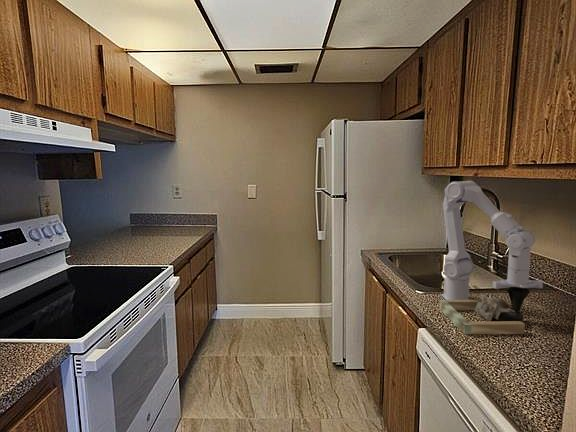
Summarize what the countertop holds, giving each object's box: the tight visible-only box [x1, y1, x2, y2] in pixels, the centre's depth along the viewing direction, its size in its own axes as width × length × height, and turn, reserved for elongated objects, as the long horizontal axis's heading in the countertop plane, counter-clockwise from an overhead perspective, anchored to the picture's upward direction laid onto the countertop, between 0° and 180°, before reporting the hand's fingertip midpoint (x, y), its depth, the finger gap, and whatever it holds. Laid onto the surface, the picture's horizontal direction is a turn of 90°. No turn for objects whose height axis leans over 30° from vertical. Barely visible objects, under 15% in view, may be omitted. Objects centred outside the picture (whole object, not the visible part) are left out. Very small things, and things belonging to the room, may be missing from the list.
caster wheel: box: [474, 293, 524, 322], centre depth 117 cm, size 7×11×10 cm
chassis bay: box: [438, 299, 526, 335], centre depth 117 cm, size 20×18×3 cm
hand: (515, 309), depth 117 cm, fingers closed
